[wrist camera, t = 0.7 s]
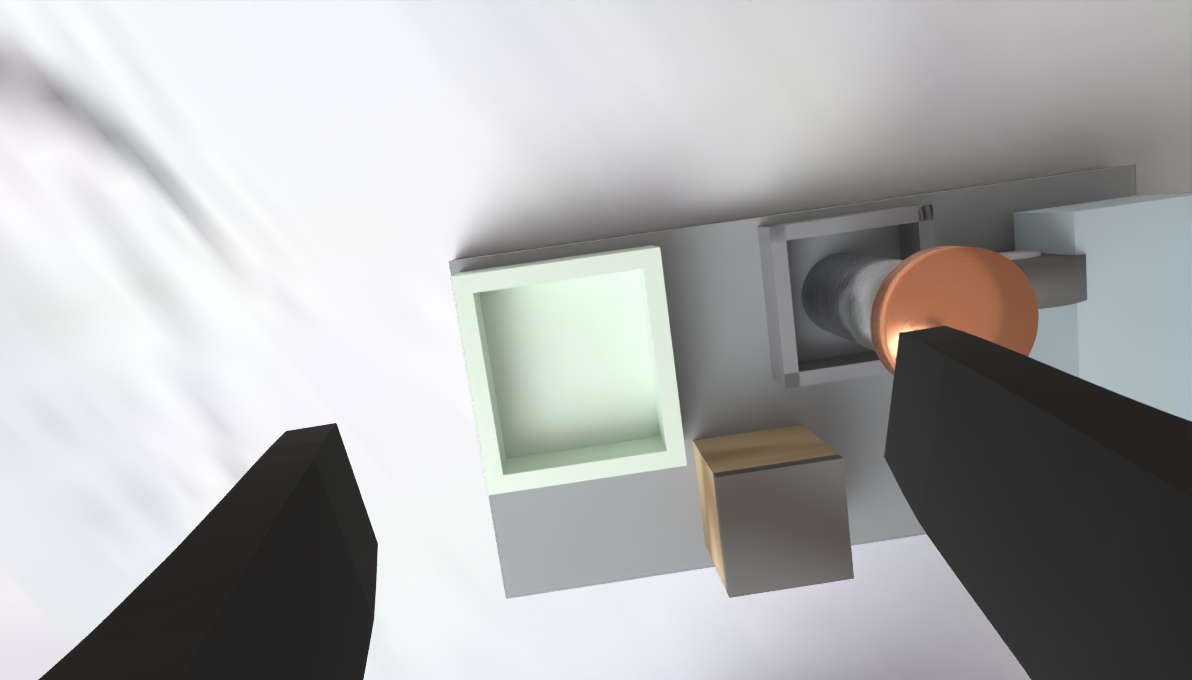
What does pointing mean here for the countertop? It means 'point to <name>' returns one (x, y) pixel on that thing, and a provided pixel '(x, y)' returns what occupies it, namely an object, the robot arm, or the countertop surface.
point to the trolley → (1114, 293)
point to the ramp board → (757, 373)
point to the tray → (570, 368)
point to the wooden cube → (773, 509)
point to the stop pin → (922, 298)
